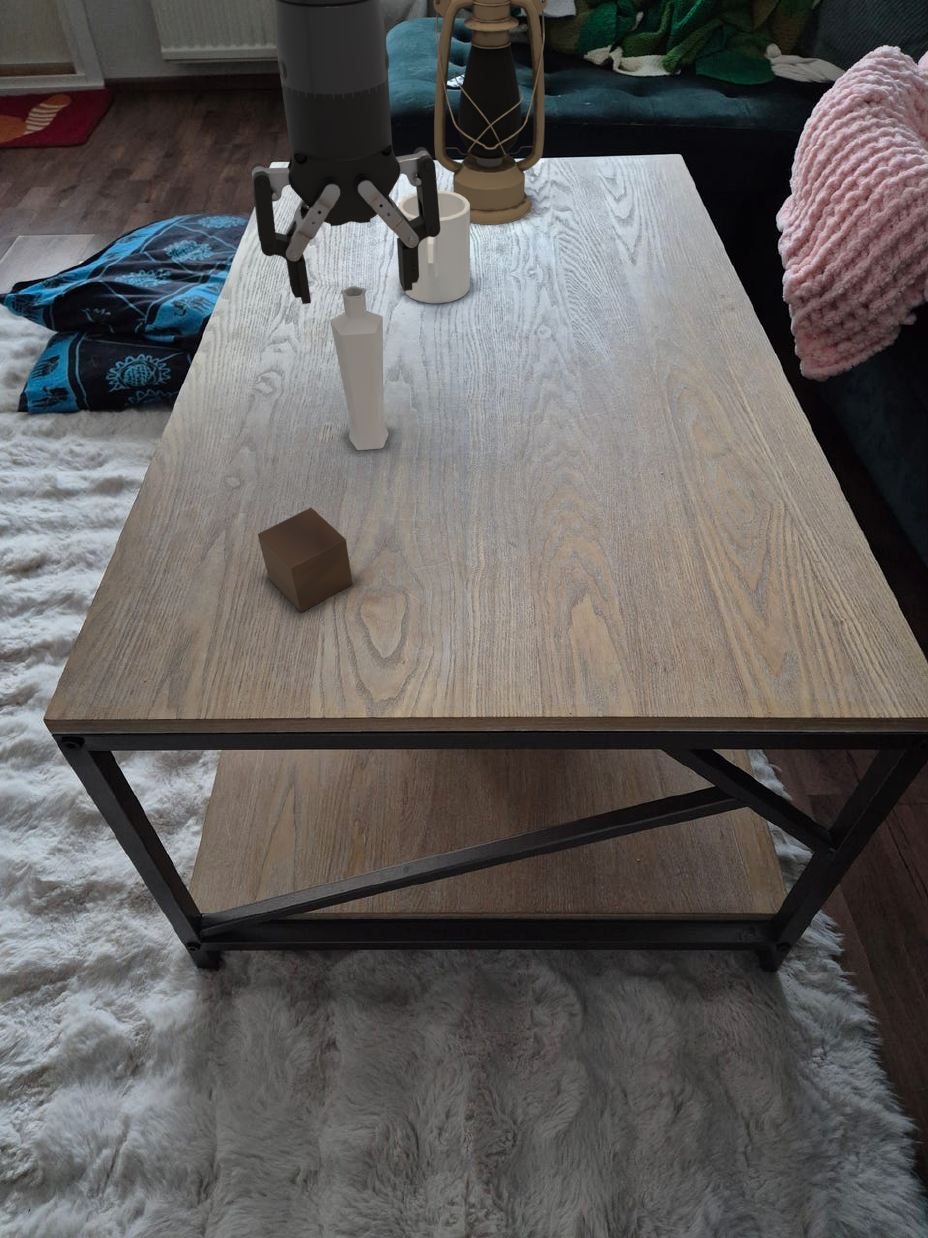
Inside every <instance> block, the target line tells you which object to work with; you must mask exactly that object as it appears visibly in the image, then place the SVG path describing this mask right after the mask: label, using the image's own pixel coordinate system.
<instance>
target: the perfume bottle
mask: <svg viewBox="0 0 928 1238" xmlns="http://www.w3.org/2000/svg"><path fill="white" fill-rule="evenodd" d="M366 292H367V289H366V288H364V287H360V286H357V285H350V286H349V287H346V288H344V289H341V291H340V294H341V295H342V299H343V300H342V301H343V309H344V312H343V313H341V314H339V315H337V316H335V317H333V318H331V319H330V320H329V322H330V327H331V332H332V336H333V341H334V342H333V343H334V346H335V347H334V348H335V350H336V357H337V362H338V366H339V371H340V376H341V381H342V384H343V390H344V396H345V400H346V405H347V411H348V416H349V421H350V428H349V433H348V438H349V440H350V441H351V443H352V445H353V447H354V448H355V450H357V451H367V450H379V449H383V448H384V447H385V445H386V443H387V440H388V437H389V435H390V434H389V432H388V429H387V426H386V424H385V420H384V419H385V418H384V417H385V416H384V413H385V411H384V410H385V409H384V405H385V403H384V402H385V401H384V317H383V315H381V314H378V313H374V312H372V311H368V310H367V301H366Z"/></svg>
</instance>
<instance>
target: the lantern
mask: <svg viewBox="0 0 928 1238" xmlns="http://www.w3.org/2000/svg"><path fill="white" fill-rule="evenodd" d="M547 6H548V0H433V8H434V10H435V11H436V18H435V19H436V20H435V38H436V50H437V62H436V63H437V64H436V79H435V94H434V95H435V96H434V118H433V119H434V121H433V123H434V125H433V126H434V128H433V130H434V132H433V133H434V134H433V135H434V136H433V137H434V139H433V140H434V142H433V143H434V145H433V146H434V154H435V155H434V156H435V160H437V162H438V163H439V164H440V166H442V168H444V169H446V170H447V171H448V172H451V173H453V175H452V176H453V177H452V182H453V183H452V185H453V187H452V188H453V190H452V192H454V193H457V194H460V195H461V196H463V197H465V198H466V199H467V200H468V202H469V203H470V224H476V225H502V224H507V223H512V222H516V221H518V220H520V219H522V218H525V217H526V216H527V215H528V214H529V213H530V212H531V210H532V205H533V204H532V202H531V200H530V198H529V196H528V194H526V192H525V187H526V186H525V185H526V184H525V183H526V181H525V179H526V174H525V172H526V171H528V170H530V169H531V168H533V167H534V166H535V165H536V164H538V162H539V161H540V160H541V158H542V157H543V153H544V152H543V151H544V144H545V122H546V121H545V113H546V112H545V70H544V68H545V67H544V46H545V41H546V38H545V36H546V35H545V12H544V11H545V9H546V8H547ZM511 8H520V9H522V10H523V11H524V13H525V15H526V20H527V27H528V33H529V43H530V55H531V69H532V94H531V98H530V103H529V108H528V111H527V114H526V118H525V120H524V123H523V125H522V126H521V124H522V106H521V105H522V104H521V103H522V102H523V99H524V93H523V90H522V88H521V87H520V86H519V83H518V76H517V71H516V65H515V59H514V56H513V51H512V48H511V44H512V40H511V39H510V30H512V29H515V28H517V27H518V26H519V23H520V22H519V20H518V18H515V17H514V16H511ZM463 9H472V13H471V14H472V15H471V16H468V17H467V18H465V19H464V20H463V25H464V27H466V28H468V29H470V30H472V39H471V40H470V44H471V46H470V49H469V53H468V57H467V61H466V64H465V70H464V75H461V74H460V73H459V72H457V71H453V78H454V80H455V82H456V83H457V85H458V86H459V88H460V89H461V90H460V96H459V103H458V110H457V123H456V121H455V118H454V115H453V111H452V108H451V104H450V100H449V96H448V80H449V68H450V67H449V65H450V57H451V49H452V40H453V39H452V37H453V32H454V28H455V23H456V17H457V15H458V13H459V12H460V10H463ZM540 13H541V19H542V20H541V22H542V29H541V22H540V15H539V14H540ZM439 15H440V16H442V23H441V29H440V35H438V25H439V24H438V23H439ZM456 75H458V76H459V77H460V78H462V79H463V80H462V85H461V84H460V83H459V81H458V79H457V77H456ZM520 93H521V96H520ZM447 105H448V110H449V112H450V115H451V119H452V122H453V124H454V127H455V128H456V129H457V130H458V133H459V137H460V139H461V141H462V143H463V144H464V146H465V147H466V148H467V149H468V150H467V153H462V152H461V151H460V149H459V148H458V147H446V117H447V116H446V114H447ZM532 106H533V134H532V135H533V136H532V145H524V146H523V145H522V146H520V147H519V148H518V150H517V151H516V152H510V149H511V148H513V146H514V145H515V144H516V142H517V140H518V139H519V135H520V132H521V131H522V130H523V129H524V127H525V126H526V124H527V122H528V119H529V116H530V112H531V107H532ZM523 148H532V149H531V153H530V154H529V155H528V156H526V157H525V158H523V159H520V160H518V161H517V160H516V159H515V158H514V157H512V156H510V155H517V154H519V152H520V151H521V150H522V149H523ZM453 149H454V150H457V151H458V153H459V154H460V155H463V156H466V157H465V158H464V159H462V161H461V162H459V161H456V160H455V159H452V158H451V157H450V156H449V155H448V154H447V152H446V151H447V150H453Z"/></svg>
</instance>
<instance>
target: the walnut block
mask: <svg viewBox="0 0 928 1238" xmlns="http://www.w3.org/2000/svg"><path fill="white" fill-rule="evenodd" d="M257 537H258V541H259V546H260V549H261V553H262V558H263V563H264V566H265V570H266V574H267V579H268V580H269V581H270V582H271V583H272V584H273V585H274V586H275V587H276V588H277V589H278V590H279V591H280V592H281V594H282V595H284V597H285V598H286V599H287V600H288V601H289V602H290V603H291V604H292V605H293V606H294V607H295V609H297V610H298V611H299V612H300V613H304V611H307V610H308V609H310V608H312V607H314V606H316V605H318V604H320V603H321V602H323V601H325V600H326V599H328V598H330V597H332V596H334V595H335V594H337V593H339V592H341V591H342V590H344V589H346V588H349V587H350V586H351V585H353V578H352V577H353V576H352V571H351V565H350V557H349V551H348V544H347V539H346V538H345V537H344V536H343V535H342V534H341V533H340V532H338V530H336V529H335V528H334V527H333V526H332V525H331V524H330V523H329V522H328V521H327V520H325V518H323V517H322V516H321V515H320V514H319V513H318V512H317V511H316V509H314V508H312V507H309V508H307V509H305V510H302V511H301V512H298V513H296V514H295V515H293V516H291V517H289V518H287V519H285V520H283V521H281V522H279V523H277V524H275V525H273V526H271V527H269V528H266V529H264V530H263V531H260V532H259V533H257Z"/></svg>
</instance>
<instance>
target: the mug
mask: <svg viewBox="0 0 928 1238" xmlns="http://www.w3.org/2000/svg"><path fill="white" fill-rule="evenodd" d="M437 192H438V205H439V217H440V233H439V234H438V235H437V236H436V237H430V236H429V237H427V238H425V239H423V240H422V241H421V242H420V243H419V246H418V259H419V279H418V281H417V283H412V290H410V291H404V294H406V295H407V296H408V297H409V298H410V299H412V300H415V301H418V302H420V303H426V304H444V303H451V302H454V301H457V300H460V299H461V298H463V297H464V296H466V295H467V294H468V292H469V291H470V287H471V223H470V203H469V202H468V200H467V199H466V198H465V197H463V196H461V195H460V194H457V193H454V192H453V191H449V190H443V189H437ZM397 207H398V208H399V209H400V210H401V212H402V213H403V214H404V215H405V216H406V217H407V219H408V220H409V221H410V220H412V219H414V218H416V217H418V216H419V210H418V200H417V191H416V192H413V193H410V194H408V195H407V196H404V197H403V198H402V199H401V200H400V201H399V202H398V205H397Z"/></svg>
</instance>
